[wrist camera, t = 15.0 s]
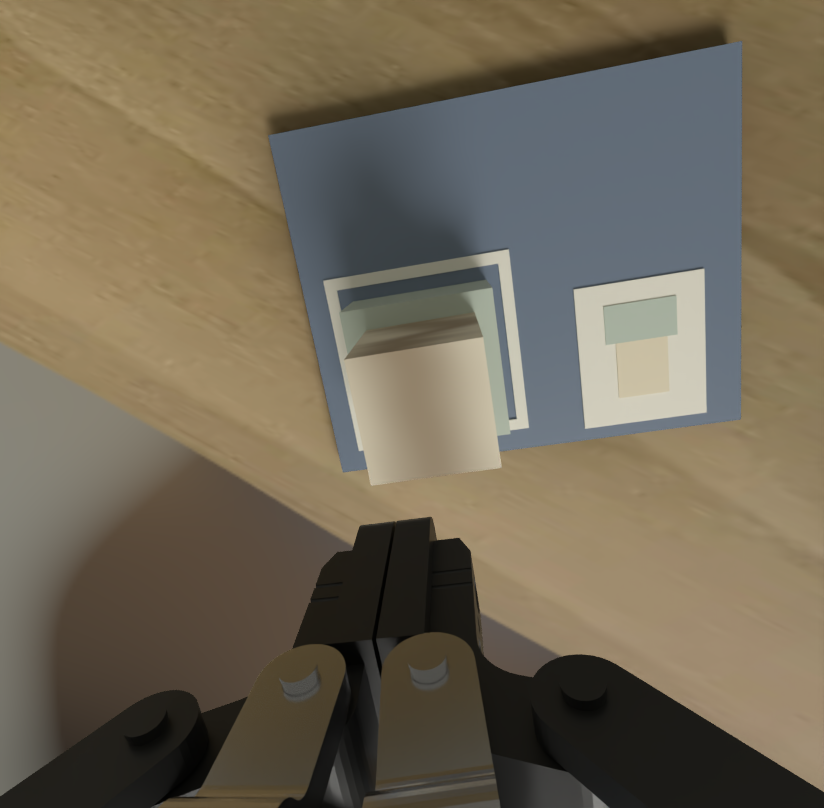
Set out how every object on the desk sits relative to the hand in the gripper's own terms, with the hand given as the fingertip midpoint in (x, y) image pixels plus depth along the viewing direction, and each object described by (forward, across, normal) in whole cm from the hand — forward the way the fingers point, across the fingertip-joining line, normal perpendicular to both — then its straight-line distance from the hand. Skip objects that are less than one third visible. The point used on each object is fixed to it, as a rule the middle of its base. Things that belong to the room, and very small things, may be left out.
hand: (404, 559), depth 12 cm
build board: (+20, -5, -3) cm, 21 cm away
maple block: (+15, 0, 0) cm, 15 cm away
